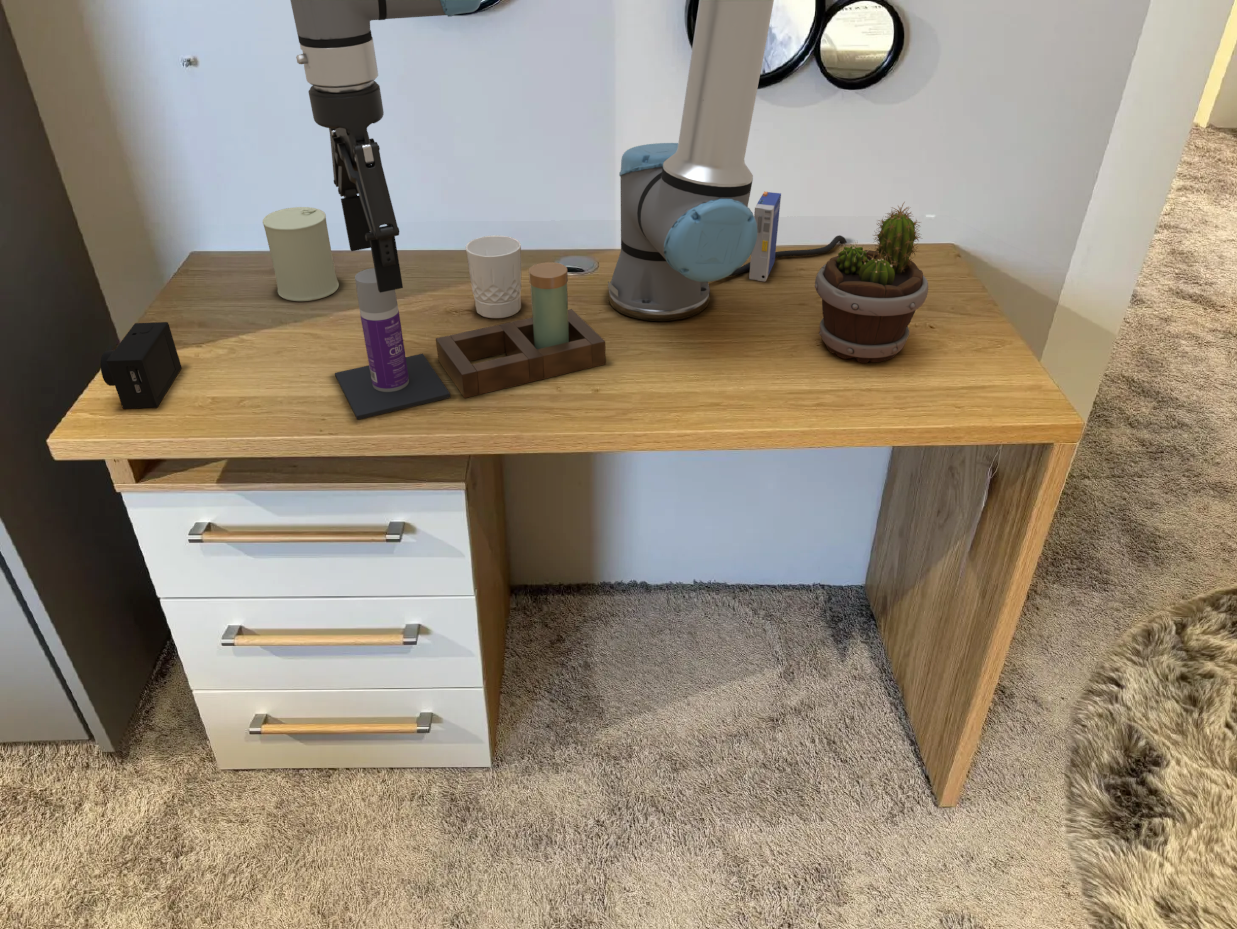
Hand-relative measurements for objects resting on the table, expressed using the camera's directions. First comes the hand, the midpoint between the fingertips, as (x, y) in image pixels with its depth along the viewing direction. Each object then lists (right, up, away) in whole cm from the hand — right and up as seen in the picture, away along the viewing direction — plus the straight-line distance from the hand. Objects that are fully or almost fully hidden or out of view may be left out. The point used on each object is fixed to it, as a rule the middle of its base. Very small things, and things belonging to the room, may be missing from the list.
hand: (375, 268), depth 115 cm
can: (-19, +4, +34) cm, 39 cm away
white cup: (+11, -1, +28) cm, 30 cm away
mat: (0, -14, +9) cm, 17 cm away
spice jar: (+20, -9, +16) cm, 27 cm away
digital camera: (-32, -14, +9) cm, 36 cm away
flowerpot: (+63, -7, +18) cm, 66 cm away
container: (0, -13, +9) cm, 16 cm away
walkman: (+52, +7, +39) cm, 66 cm away
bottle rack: (+16, -10, +15) cm, 24 cm away
